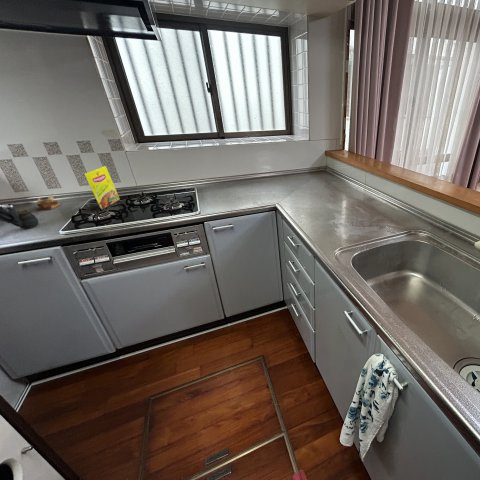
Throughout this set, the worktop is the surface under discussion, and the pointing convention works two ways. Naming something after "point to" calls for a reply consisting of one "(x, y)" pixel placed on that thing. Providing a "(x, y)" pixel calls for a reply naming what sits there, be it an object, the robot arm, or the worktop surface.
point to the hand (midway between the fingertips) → (19, 223)
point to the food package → (102, 187)
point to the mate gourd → (27, 219)
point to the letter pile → (46, 203)
